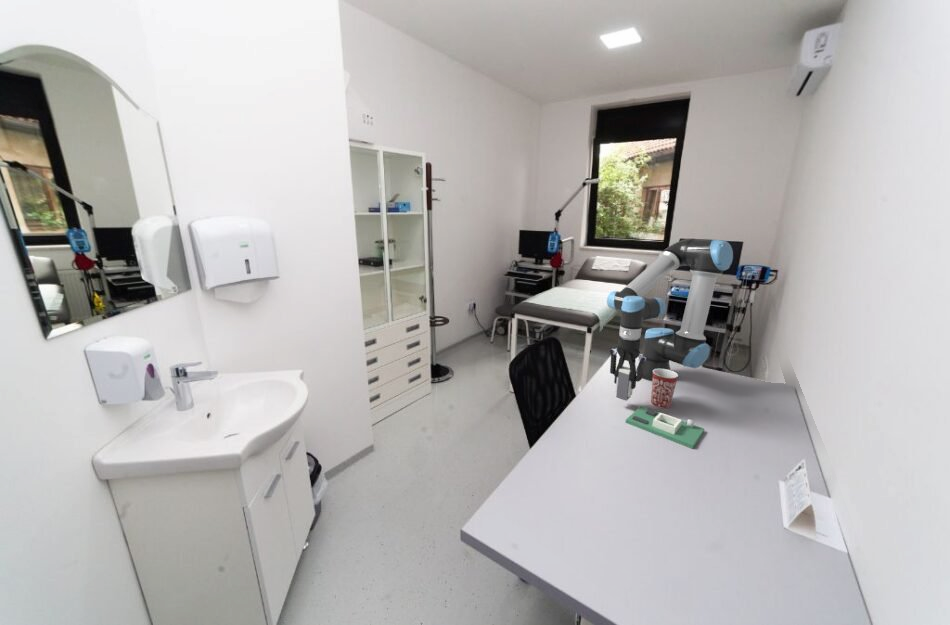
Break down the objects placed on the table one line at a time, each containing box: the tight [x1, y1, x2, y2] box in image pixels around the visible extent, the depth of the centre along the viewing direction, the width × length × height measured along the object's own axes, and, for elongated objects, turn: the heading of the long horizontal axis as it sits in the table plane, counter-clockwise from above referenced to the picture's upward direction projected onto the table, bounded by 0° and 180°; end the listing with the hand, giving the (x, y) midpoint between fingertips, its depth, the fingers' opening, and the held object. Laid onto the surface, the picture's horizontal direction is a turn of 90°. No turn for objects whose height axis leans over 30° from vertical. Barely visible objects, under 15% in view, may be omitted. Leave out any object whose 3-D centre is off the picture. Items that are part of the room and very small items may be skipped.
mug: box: [650, 369, 679, 409], centre depth 147 cm, size 13×9×14 cm
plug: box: [615, 365, 632, 402], centre depth 142 cm, size 4×4×12 cm
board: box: [625, 405, 705, 449], centre depth 131 cm, size 14×22×4 cm, turn 46°
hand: (623, 393), depth 144 cm, fingers closed on plug, 4 cm apart
